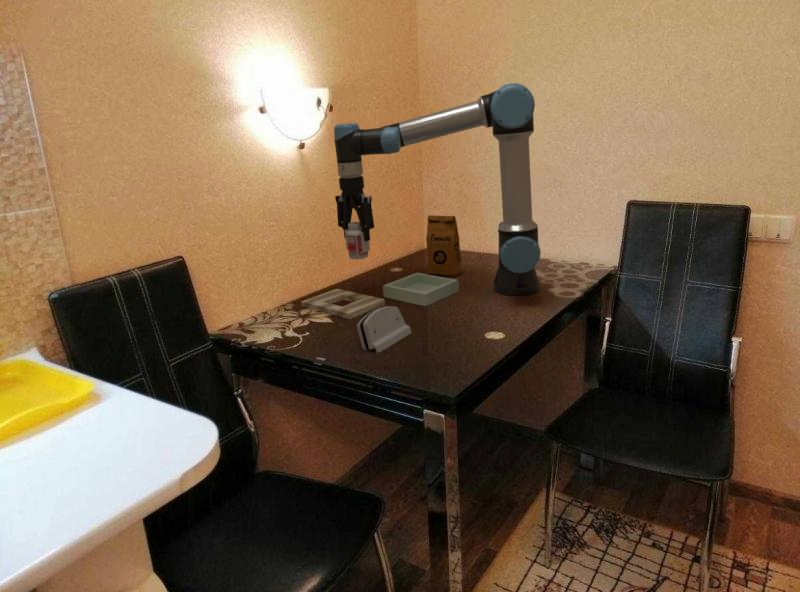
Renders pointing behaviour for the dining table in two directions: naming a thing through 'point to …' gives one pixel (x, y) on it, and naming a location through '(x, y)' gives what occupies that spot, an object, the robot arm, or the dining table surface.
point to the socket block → (348, 311)
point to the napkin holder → (382, 328)
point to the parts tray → (421, 289)
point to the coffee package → (443, 246)
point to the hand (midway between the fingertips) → (358, 249)
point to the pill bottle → (355, 241)
